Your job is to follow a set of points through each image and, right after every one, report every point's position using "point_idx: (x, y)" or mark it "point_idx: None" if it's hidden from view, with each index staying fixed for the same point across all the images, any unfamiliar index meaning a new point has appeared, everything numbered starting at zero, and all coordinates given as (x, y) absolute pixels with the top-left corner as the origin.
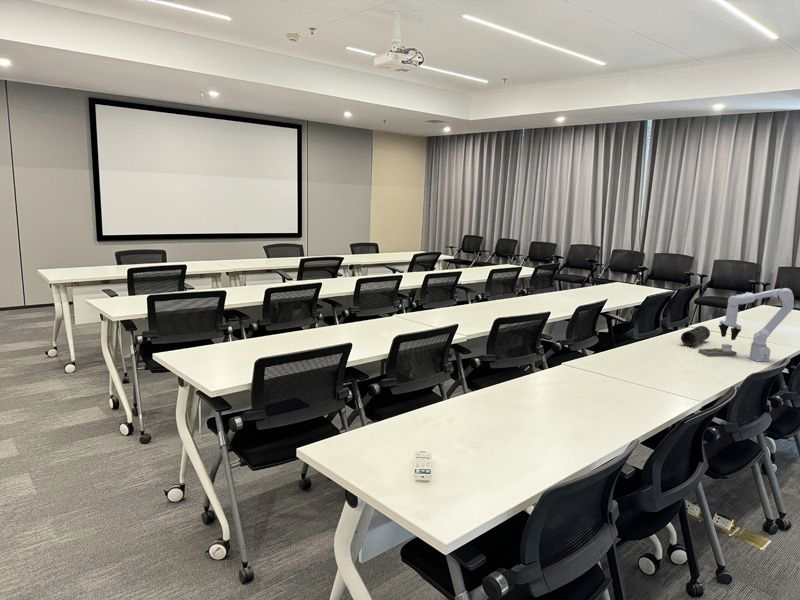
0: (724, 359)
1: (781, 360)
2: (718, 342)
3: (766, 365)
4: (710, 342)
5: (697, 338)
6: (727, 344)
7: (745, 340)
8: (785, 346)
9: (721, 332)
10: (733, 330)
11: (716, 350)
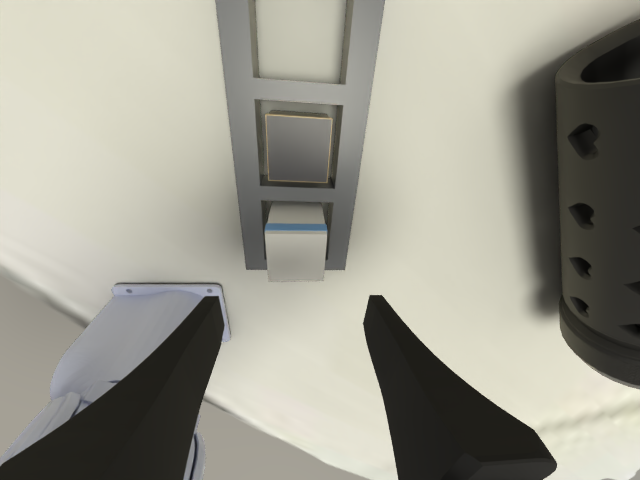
0: (119, 58)
1: None
2: (502, 347)
3: (29, 274)
4: (526, 317)
5: (596, 139)
6: (302, 267)
7: None
8: (367, 466)
9: (402, 333)
10: (10, 459)
11: (278, 115)
